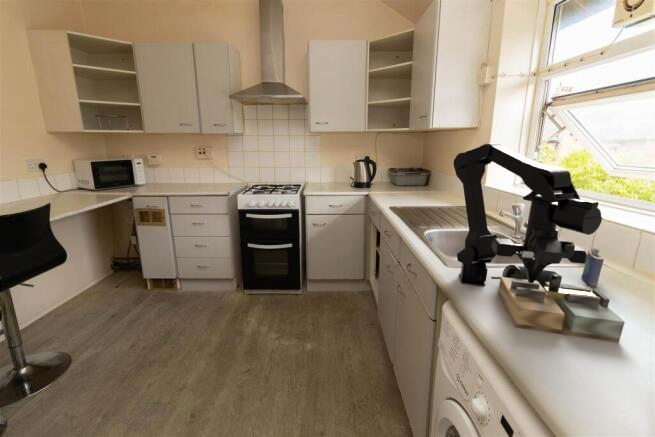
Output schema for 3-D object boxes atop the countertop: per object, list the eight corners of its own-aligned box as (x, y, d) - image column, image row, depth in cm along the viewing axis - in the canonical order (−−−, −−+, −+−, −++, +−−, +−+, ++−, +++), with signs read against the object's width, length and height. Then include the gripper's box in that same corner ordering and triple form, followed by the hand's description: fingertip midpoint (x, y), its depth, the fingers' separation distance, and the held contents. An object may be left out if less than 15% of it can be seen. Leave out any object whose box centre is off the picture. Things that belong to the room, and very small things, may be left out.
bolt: (547, 297, 76) (551, 276, 75) (543, 292, 79) (547, 272, 77) (595, 303, 74) (600, 282, 72) (590, 298, 76) (595, 277, 75)
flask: (598, 288, 92) (606, 253, 89) (585, 285, 93) (593, 252, 91) (590, 276, 100) (598, 244, 97) (579, 274, 101) (586, 243, 99)
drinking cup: (545, 262, 95) (486, 260, 92) (567, 272, 88) (504, 270, 84) (539, 285, 97) (480, 284, 93) (560, 297, 89) (498, 296, 86)
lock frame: (515, 327, 73) (520, 300, 71) (498, 293, 89) (501, 270, 87) (619, 342, 68) (627, 313, 66) (580, 303, 84) (586, 279, 82)
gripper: (507, 228, 68) (497, 292, 72) (609, 235, 64) (591, 304, 68) (495, 216, 79) (486, 272, 83) (581, 221, 74) (567, 281, 78)
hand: (530, 282), depth 78 cm, fingers closed
